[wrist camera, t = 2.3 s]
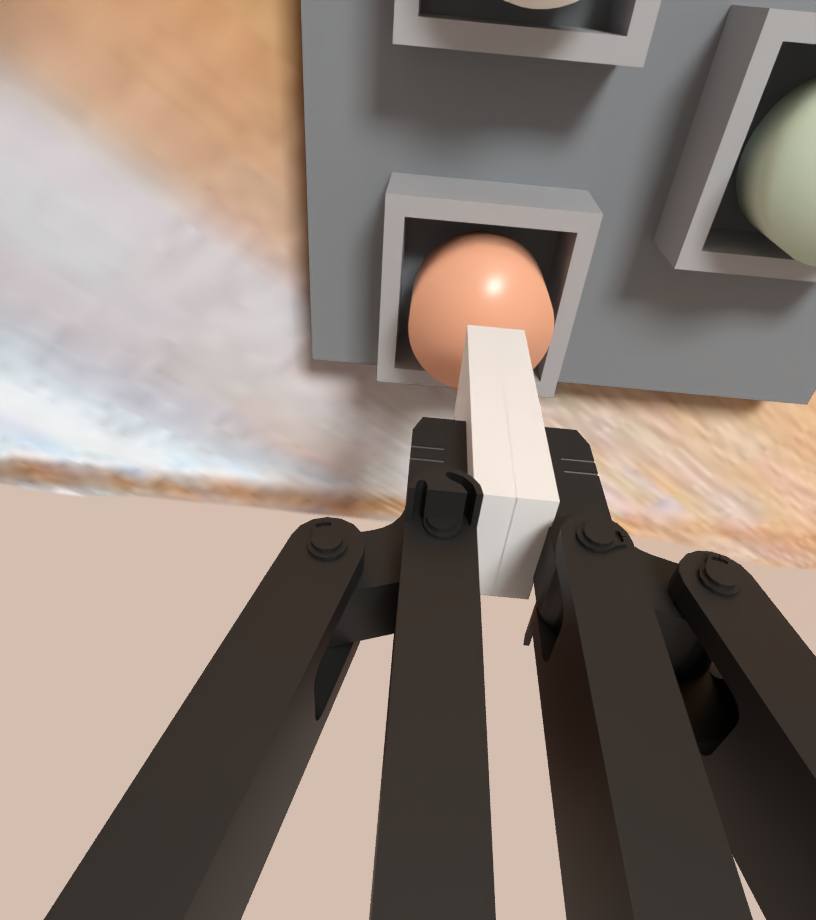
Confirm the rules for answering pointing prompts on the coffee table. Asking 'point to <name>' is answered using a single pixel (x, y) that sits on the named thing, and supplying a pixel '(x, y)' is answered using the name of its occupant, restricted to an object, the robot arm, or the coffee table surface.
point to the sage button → (783, 174)
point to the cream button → (541, 3)
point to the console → (560, 181)
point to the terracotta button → (476, 299)
